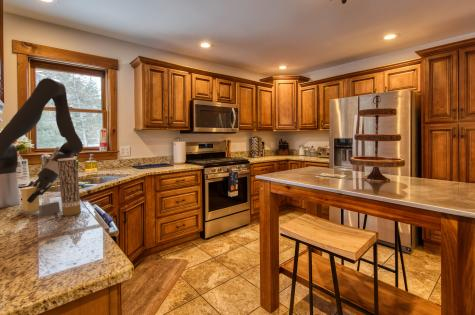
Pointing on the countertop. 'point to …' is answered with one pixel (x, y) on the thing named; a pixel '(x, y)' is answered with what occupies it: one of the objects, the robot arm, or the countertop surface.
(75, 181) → the brown bark pillar
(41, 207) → the track
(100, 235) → the countertop surface
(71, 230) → the countertop surface
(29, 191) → the keeper
